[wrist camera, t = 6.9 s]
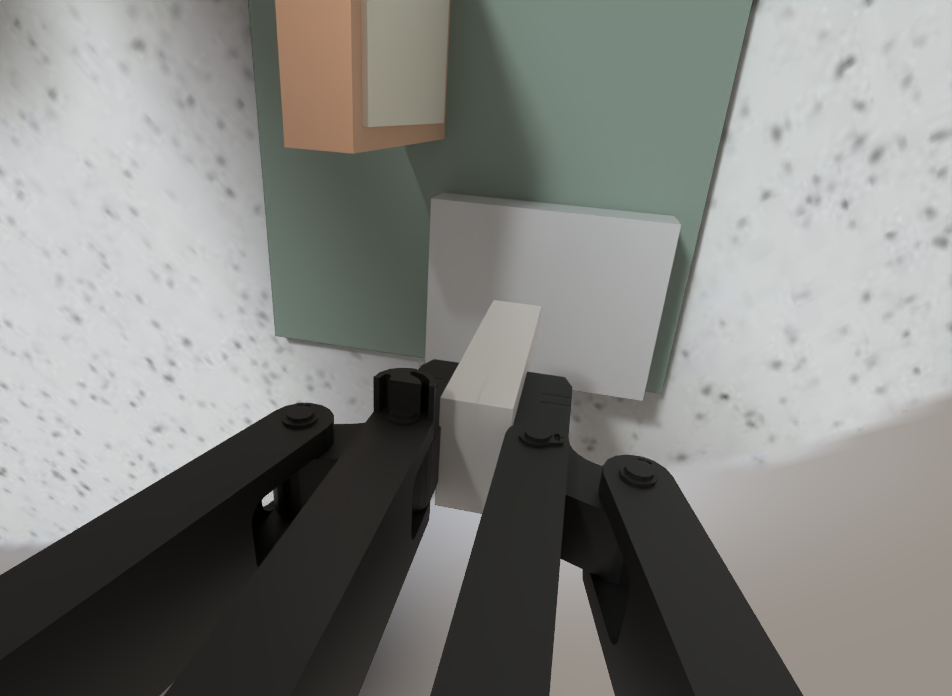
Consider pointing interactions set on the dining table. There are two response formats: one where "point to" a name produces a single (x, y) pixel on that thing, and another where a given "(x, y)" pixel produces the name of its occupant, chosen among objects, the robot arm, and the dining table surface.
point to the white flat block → (553, 284)
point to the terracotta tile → (362, 72)
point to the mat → (501, 153)
